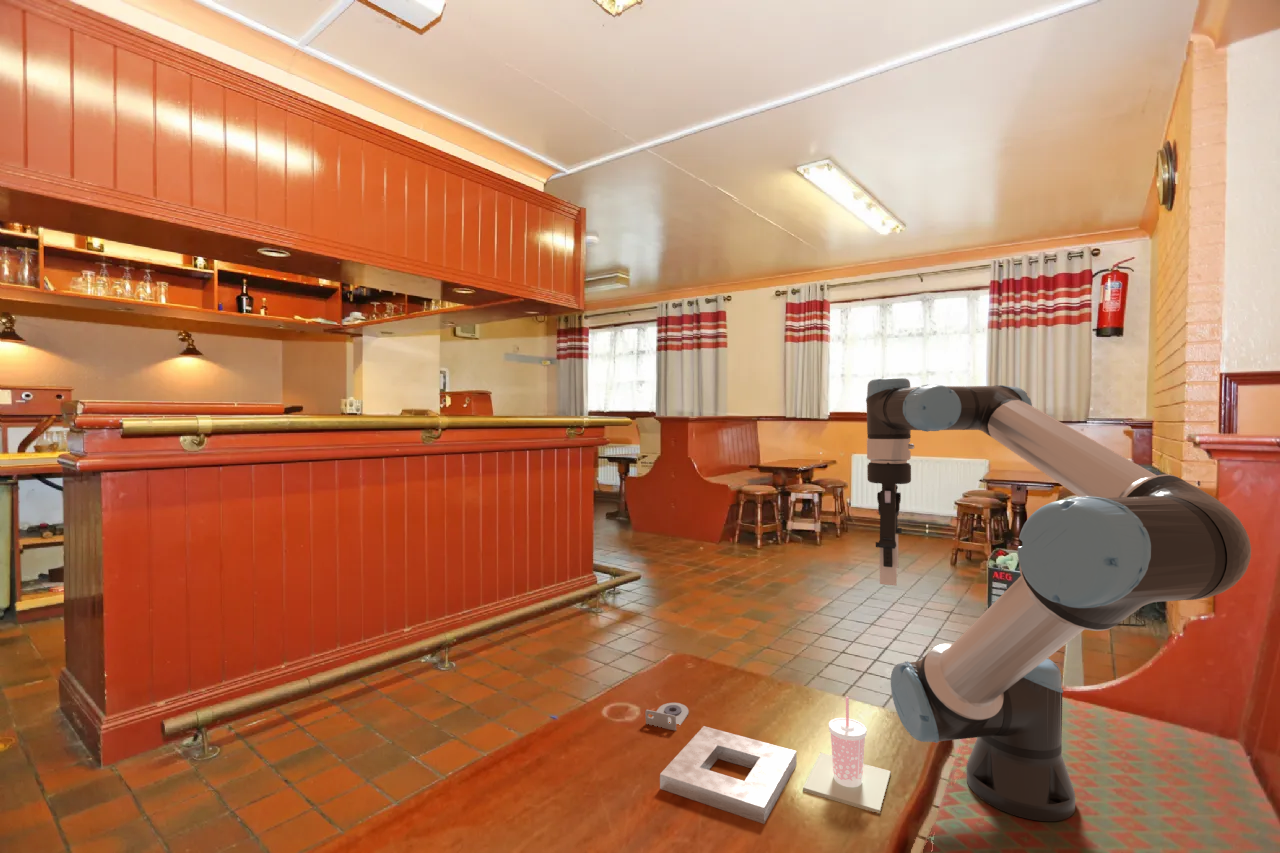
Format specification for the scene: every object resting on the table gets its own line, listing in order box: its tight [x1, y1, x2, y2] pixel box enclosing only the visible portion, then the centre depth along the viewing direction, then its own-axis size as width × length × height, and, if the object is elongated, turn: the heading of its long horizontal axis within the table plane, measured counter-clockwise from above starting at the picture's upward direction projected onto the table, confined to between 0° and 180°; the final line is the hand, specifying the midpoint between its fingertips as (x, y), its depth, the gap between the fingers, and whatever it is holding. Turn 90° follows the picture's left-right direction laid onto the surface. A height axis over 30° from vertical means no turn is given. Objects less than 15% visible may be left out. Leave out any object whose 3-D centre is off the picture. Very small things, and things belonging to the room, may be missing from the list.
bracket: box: [644, 702, 690, 732], centre depth 126 cm, size 7×10×4 cm, turn 155°
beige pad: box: [802, 752, 891, 814], centre depth 102 cm, size 12×12×1 cm
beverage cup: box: [828, 695, 868, 787], centre depth 102 cm, size 6×6×14 cm
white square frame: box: [659, 725, 798, 825], centre depth 104 cm, size 18×18×2 cm
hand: (889, 575), depth 113 cm, fingers open, 13 cm apart
